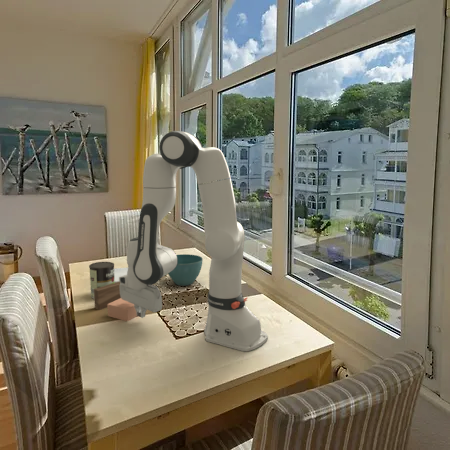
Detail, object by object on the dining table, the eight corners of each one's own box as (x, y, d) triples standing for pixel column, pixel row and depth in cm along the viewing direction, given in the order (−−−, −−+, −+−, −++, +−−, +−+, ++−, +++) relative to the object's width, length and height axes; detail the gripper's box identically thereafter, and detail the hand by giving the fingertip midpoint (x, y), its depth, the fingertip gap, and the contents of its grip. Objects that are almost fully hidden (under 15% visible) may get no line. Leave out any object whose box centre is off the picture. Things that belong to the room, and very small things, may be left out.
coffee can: (119, 292, 162) (118, 262, 159) (107, 300, 152) (106, 268, 149) (98, 290, 164) (97, 260, 161) (85, 298, 154) (84, 267, 151)
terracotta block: (142, 314, 140) (141, 302, 139) (127, 322, 133) (127, 309, 132) (122, 309, 144) (122, 297, 143) (107, 316, 137) (107, 304, 136)
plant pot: (158, 286, 170) (157, 261, 168) (175, 275, 187) (175, 252, 185) (193, 291, 164) (193, 265, 162) (207, 279, 181) (208, 256, 179)
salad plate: (146, 284, 173) (146, 277, 173) (99, 289, 166) (99, 282, 165) (139, 272, 193) (139, 266, 192) (97, 276, 185) (97, 269, 184)
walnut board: (139, 295, 158) (139, 278, 156) (99, 309, 142) (98, 290, 141) (135, 294, 160) (134, 277, 158) (94, 307, 144) (93, 289, 143)
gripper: (166, 284, 126) (166, 321, 128) (130, 272, 138) (131, 306, 141) (152, 289, 121) (152, 327, 123) (116, 276, 133) (117, 311, 136)
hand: (140, 316), depth 132 cm, fingers closed
